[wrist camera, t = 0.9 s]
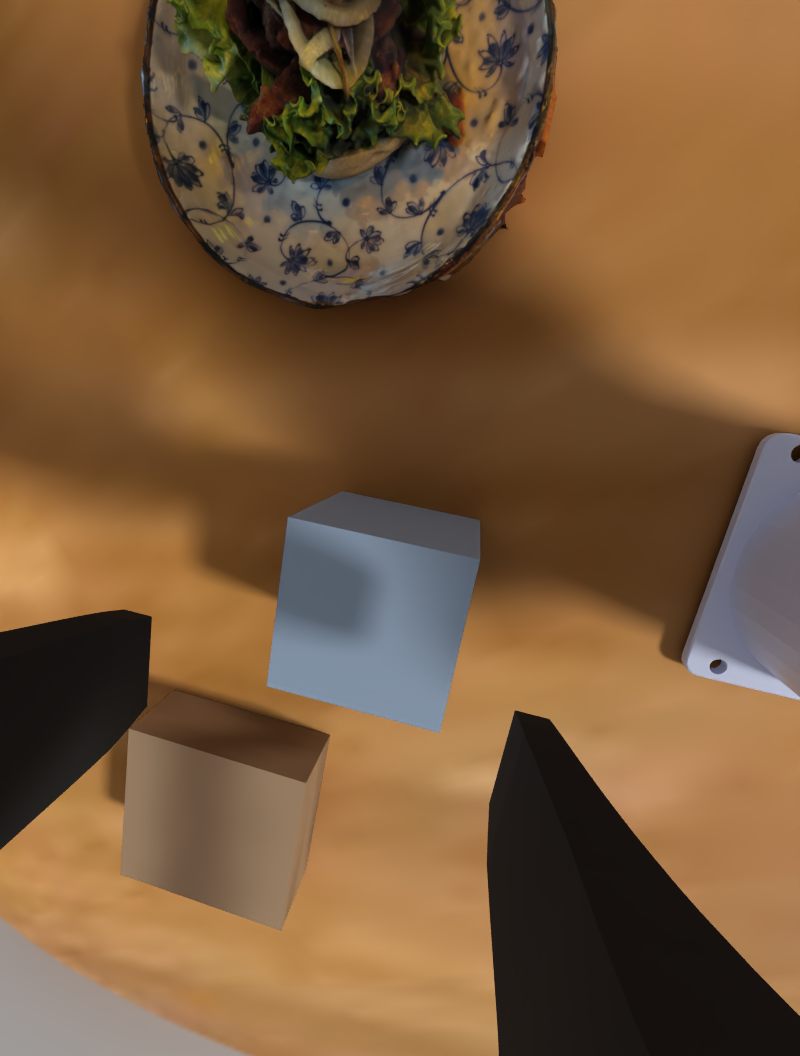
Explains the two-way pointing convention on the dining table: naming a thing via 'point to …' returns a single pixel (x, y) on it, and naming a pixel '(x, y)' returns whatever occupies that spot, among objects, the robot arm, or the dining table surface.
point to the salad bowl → (346, 134)
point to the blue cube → (374, 606)
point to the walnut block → (221, 805)
